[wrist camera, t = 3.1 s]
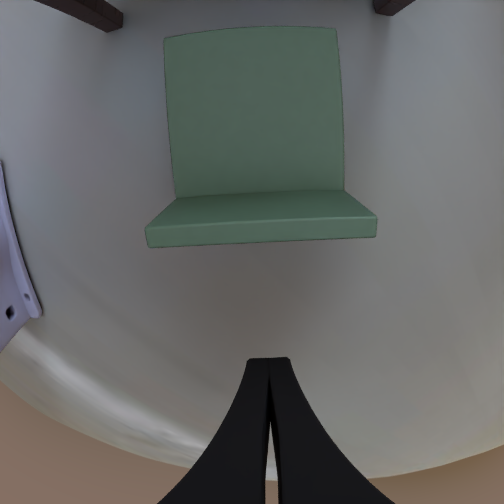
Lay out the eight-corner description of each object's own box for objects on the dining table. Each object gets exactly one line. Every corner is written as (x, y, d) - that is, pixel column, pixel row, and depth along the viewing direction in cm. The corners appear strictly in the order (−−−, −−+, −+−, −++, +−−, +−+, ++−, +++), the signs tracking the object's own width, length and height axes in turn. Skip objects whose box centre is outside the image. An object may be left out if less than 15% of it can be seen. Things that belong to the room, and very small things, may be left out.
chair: (324, 199, 11) (374, 259, 6) (197, 206, 11) (151, 269, 6) (318, 50, 9) (367, -7, 4) (184, 57, 9) (126, 7, 4)
